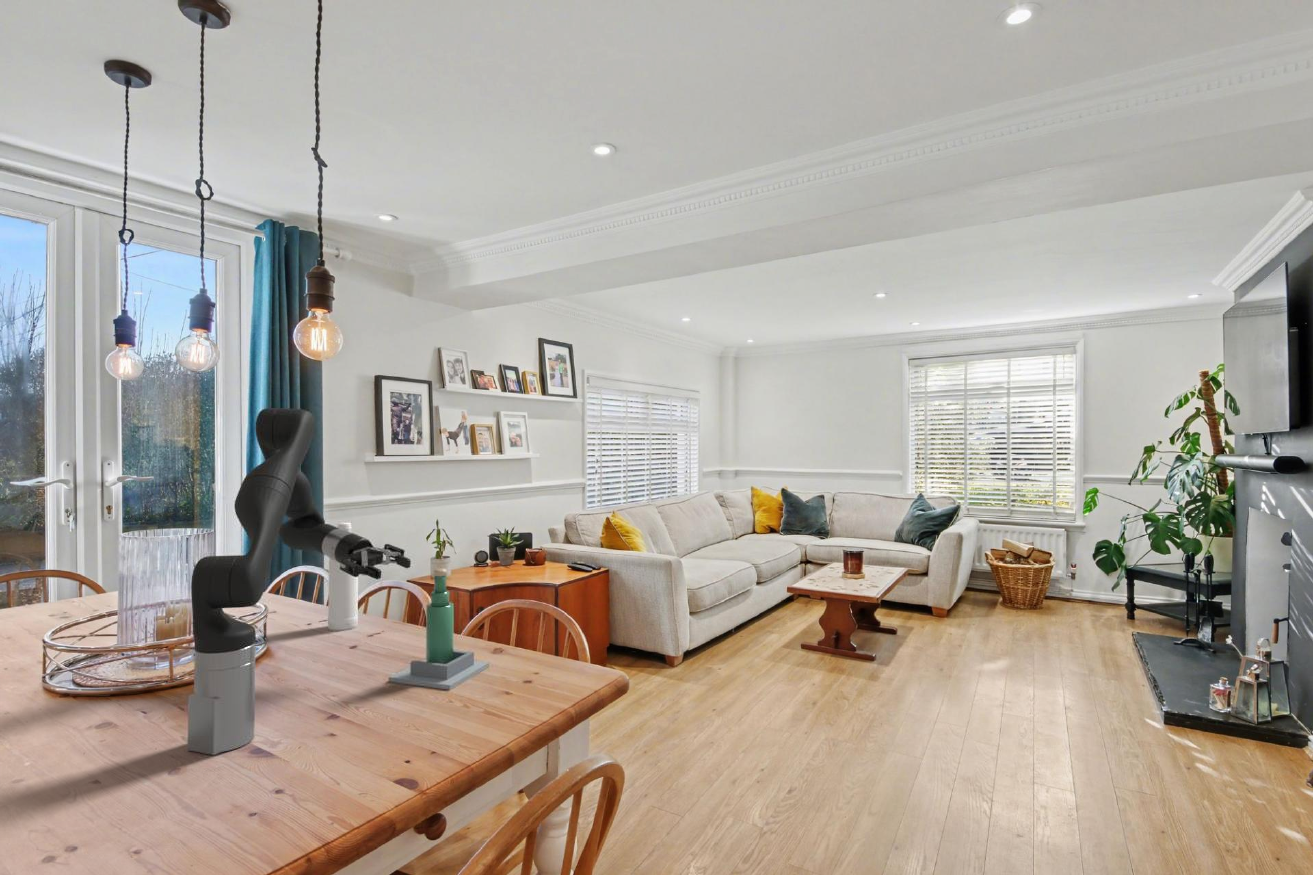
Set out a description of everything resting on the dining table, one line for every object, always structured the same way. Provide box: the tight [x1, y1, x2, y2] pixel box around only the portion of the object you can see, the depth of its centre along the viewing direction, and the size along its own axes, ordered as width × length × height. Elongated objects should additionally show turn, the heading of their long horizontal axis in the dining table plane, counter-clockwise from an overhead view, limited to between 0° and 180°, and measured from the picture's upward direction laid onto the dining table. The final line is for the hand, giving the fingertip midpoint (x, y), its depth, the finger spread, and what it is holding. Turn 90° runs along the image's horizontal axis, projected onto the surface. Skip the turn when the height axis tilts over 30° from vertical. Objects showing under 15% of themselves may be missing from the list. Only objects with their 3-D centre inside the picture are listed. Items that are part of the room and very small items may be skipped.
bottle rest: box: [388, 649, 490, 691], centre depth 159 cm, size 16×16×4 cm
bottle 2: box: [425, 568, 455, 664], centre depth 158 cm, size 6×6×23 cm
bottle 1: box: [327, 522, 359, 632], centre depth 197 cm, size 8×8×30 cm
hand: (395, 569), depth 158 cm, fingers open, 8 cm apart
